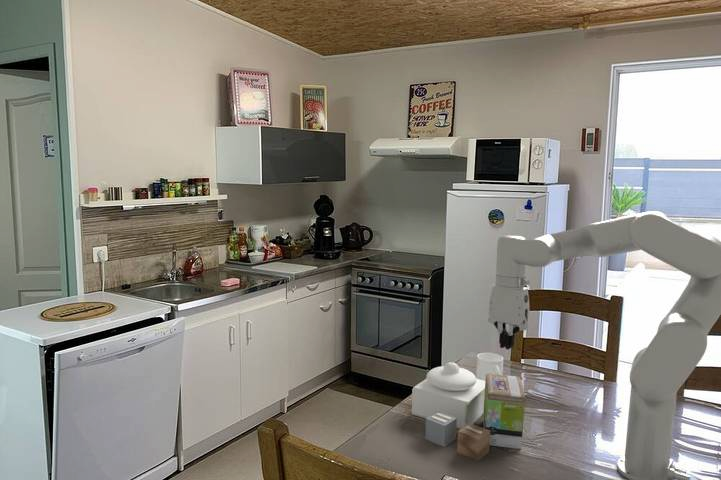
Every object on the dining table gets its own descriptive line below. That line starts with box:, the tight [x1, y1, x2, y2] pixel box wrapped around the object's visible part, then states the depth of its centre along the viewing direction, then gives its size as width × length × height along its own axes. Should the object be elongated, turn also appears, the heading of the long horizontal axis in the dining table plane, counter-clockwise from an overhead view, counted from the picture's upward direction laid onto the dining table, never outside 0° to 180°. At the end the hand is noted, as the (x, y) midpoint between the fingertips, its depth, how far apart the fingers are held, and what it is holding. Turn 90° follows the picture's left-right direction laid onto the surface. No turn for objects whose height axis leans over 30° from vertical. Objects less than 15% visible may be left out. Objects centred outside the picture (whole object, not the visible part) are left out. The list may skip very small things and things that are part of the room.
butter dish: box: [411, 362, 485, 430], centre depth 159 cm, size 18×18×16 cm
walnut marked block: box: [456, 423, 491, 462], centre depth 137 cm, size 6×6×6 cm
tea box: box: [482, 374, 526, 450], centre depth 146 cm, size 15×10×15 cm, turn 168°
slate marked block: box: [425, 411, 458, 448], centre depth 143 cm, size 6×6×6 cm
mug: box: [475, 352, 504, 381], centre depth 177 cm, size 9×12×11 cm
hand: (506, 347), depth 144 cm, fingers closed
